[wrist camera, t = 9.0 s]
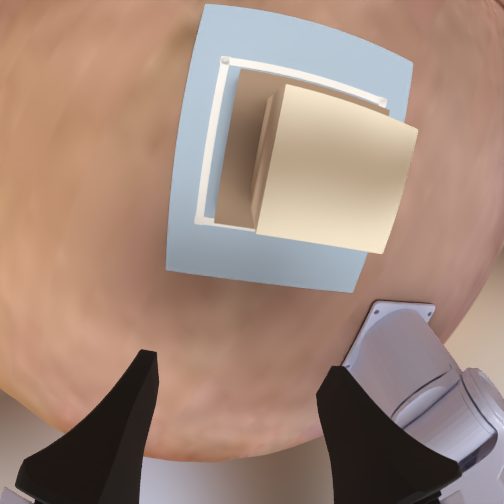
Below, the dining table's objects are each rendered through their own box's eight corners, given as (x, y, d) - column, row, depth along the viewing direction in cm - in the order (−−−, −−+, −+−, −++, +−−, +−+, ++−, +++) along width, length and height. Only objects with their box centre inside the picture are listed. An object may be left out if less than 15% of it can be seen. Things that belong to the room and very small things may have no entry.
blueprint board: (348, 286, 21) (353, 293, 20) (168, 263, 20) (165, 271, 19) (405, 64, 14) (414, 62, 13) (206, 9, 12) (205, 3, 11)
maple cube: (340, 213, 14) (382, 254, 10) (248, 196, 14) (255, 233, 9) (362, 124, 12) (418, 129, 8) (267, 99, 12) (286, 83, 7)
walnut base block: (337, 226, 18) (354, 245, 15) (217, 206, 17) (213, 223, 14) (366, 110, 15) (389, 110, 12) (239, 78, 14) (240, 68, 11)
